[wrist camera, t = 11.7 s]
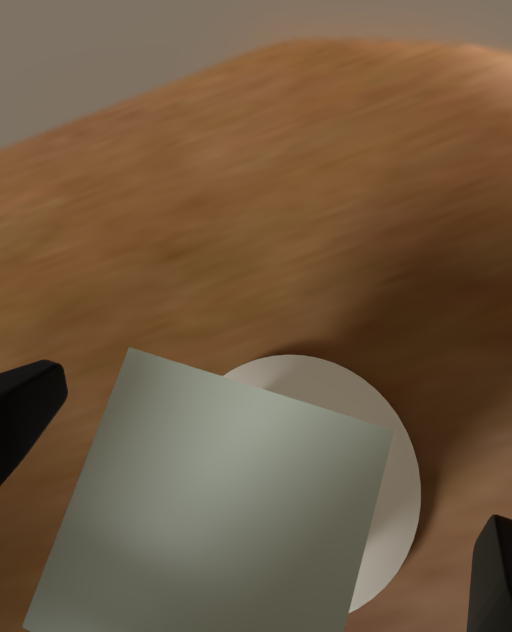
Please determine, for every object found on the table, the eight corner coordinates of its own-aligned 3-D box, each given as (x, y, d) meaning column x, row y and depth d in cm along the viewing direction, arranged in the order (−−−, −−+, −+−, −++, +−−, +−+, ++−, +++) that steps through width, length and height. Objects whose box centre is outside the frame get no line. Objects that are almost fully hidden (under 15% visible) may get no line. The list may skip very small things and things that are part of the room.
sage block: (367, 437, 18) (394, 430, 7) (332, 570, 17) (306, 782, 6) (249, 399, 19) (129, 347, 9) (210, 520, 18) (22, 626, 8)
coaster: (471, 483, 18) (480, 486, 16) (291, 673, 17) (287, 690, 16) (292, 315, 21) (288, 308, 20) (136, 470, 20) (123, 472, 19)
